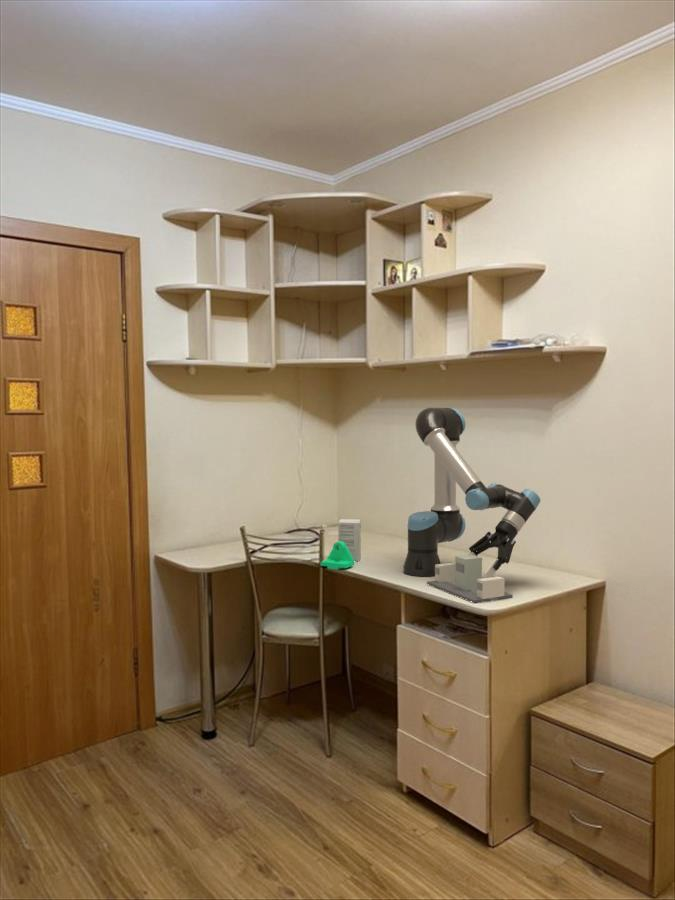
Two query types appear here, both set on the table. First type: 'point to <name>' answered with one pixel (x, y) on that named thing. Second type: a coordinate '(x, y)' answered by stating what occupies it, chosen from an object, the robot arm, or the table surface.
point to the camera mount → (338, 557)
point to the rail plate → (484, 592)
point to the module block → (467, 571)
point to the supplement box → (351, 536)
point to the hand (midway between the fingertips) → (475, 572)
